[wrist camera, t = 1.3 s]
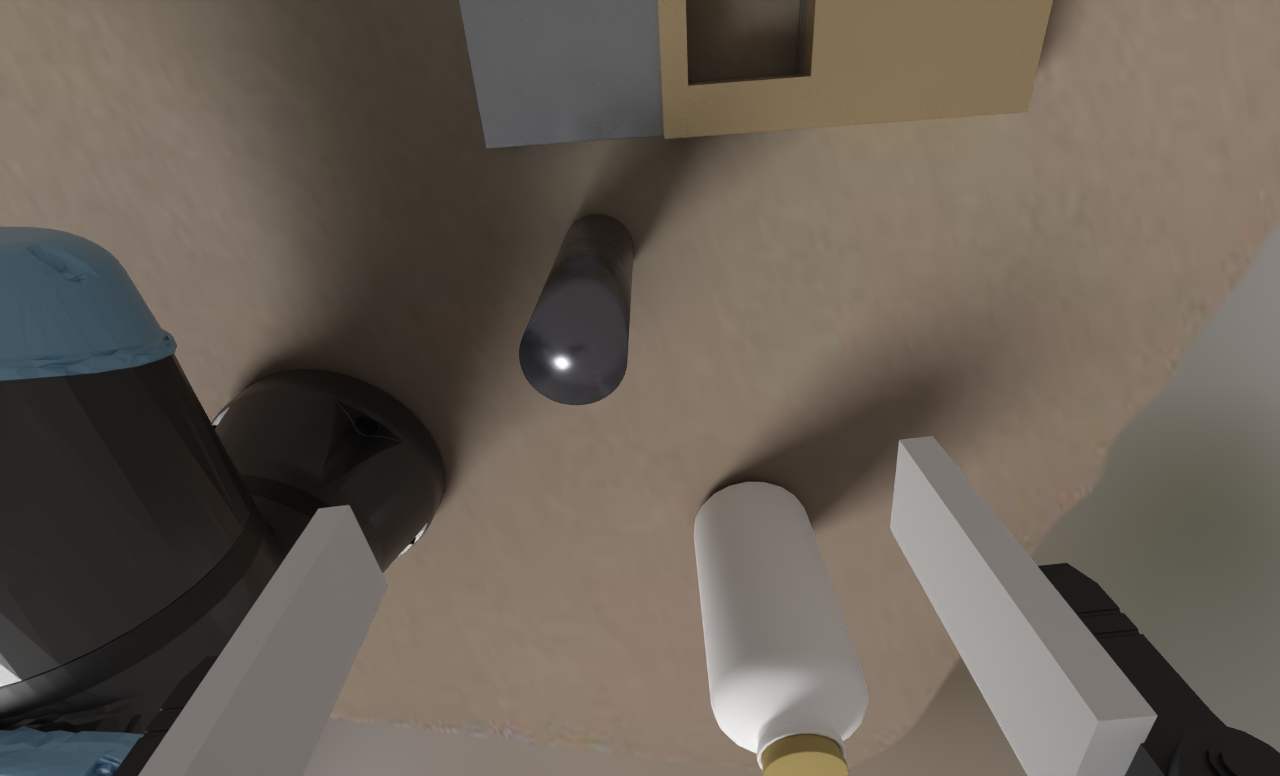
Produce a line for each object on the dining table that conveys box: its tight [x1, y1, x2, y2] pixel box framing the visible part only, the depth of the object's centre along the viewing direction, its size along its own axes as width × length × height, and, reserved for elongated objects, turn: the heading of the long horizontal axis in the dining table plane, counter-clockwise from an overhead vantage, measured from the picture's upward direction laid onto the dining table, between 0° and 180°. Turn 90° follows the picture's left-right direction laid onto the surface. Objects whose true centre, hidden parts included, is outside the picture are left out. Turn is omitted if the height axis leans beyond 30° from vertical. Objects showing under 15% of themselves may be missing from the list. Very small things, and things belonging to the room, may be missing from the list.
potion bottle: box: [694, 482, 869, 776], centre depth 36 cm, size 8×8×18 cm
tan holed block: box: [459, 0, 1053, 149], centre depth 27 cm, size 26×10×3 cm, turn 94°
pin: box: [519, 214, 633, 405], centre depth 28 cm, size 4×4×14 cm
